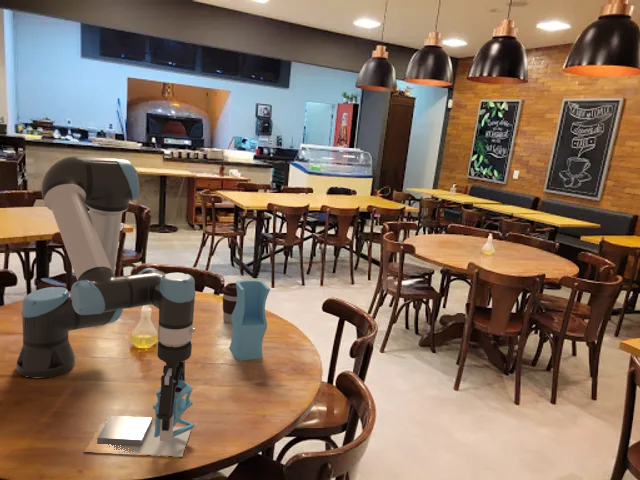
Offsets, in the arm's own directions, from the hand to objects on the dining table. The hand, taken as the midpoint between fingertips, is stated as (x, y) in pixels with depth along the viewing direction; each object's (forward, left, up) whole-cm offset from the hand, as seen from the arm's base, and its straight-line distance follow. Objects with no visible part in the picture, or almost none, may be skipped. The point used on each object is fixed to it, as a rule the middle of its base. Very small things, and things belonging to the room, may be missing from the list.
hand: (171, 427), depth 113 cm
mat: (-7, 0, -4) cm, 8 cm away
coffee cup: (+6, +78, -4) cm, 78 cm away
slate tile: (-11, +6, -2) cm, 13 cm away
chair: (0, 0, -1) cm, 1 cm away
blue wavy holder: (+14, +50, -4) cm, 52 cm away
